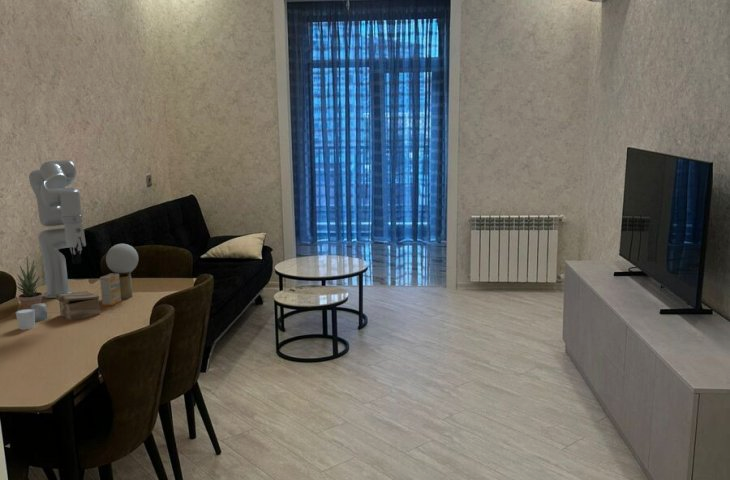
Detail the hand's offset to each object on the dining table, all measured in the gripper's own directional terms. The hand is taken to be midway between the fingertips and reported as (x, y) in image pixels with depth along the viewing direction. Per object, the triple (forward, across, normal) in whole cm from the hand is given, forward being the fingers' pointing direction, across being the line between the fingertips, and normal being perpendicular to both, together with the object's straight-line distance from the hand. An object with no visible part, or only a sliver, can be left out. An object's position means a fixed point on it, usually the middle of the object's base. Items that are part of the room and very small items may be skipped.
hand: (77, 263), depth 280 cm
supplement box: (+23, +10, -17) cm, 30 cm away
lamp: (+23, +17, -26) cm, 39 cm away
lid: (+17, +3, 0) cm, 17 cm away
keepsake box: (+23, +3, 0) cm, 23 cm away
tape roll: (+23, +10, +14) cm, 29 cm away
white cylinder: (+23, +1, +22) cm, 32 cm away
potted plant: (+23, +26, +12) cm, 37 cm away
